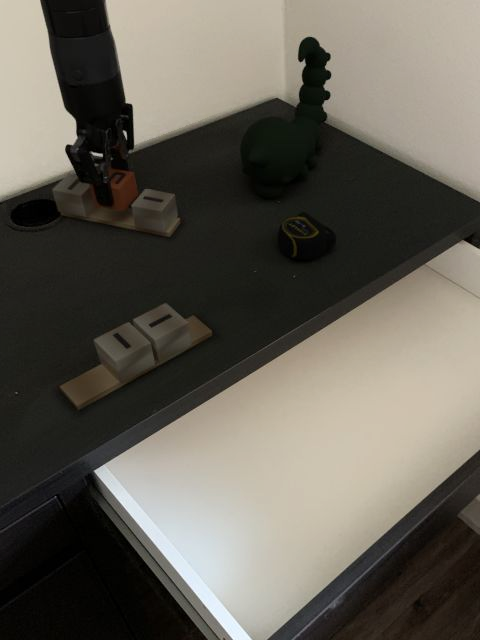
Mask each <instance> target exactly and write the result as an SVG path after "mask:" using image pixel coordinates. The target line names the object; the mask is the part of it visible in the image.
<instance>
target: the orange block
mask: <svg viewBox="0 0 480 640" xmlns="http://www.w3.org/2000/svg"><path fill="white" fill-rule="evenodd" d="M108 176H109V179H108V180H110V184H111V190H112V194H113V199H114V204H113V205H112V206H111V207H108V206H103V205H100V204H99V203H98V202H97V201H96V196H95V192H94V188H93V185H92V184H89V185H90V189H91V193H92V197H93V201H94V205H95V206H98V207H103V208H108V209H113V210H118V211H123V212H124V211H125V210H126V209H127V208H129V207H130V205H132V204H133V203H134V202H135V200H136V199H137V198H138V197H139V191H138V185H137V180H136V179H137V178H136V174H135V172H134V171H130V170H129V171H124V170H118V169H113V168H112V167H108Z"/></svg>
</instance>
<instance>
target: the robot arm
mask: <svg viewBox="0 0 480 640" xmlns="http://www.w3.org/2000/svg"><path fill="white" fill-rule="evenodd" d="M39 2H40V5H41V6H40V7H41V11H42V15H43V18H44V22H45V27H46V31H47V35H48V36H47V38H48V45H49V51H50V56H51V61H52V64H53V68H54V72H55V76H56V80H57V84H58V87H59V92H60V95H61V99H62V103H63V107H64V109H65V112H67V113H68V114H69V115H70V116H71V117H72V118H73V119H74V121H75V135H76V137H77V138H76V140H75V141H74V142H73V144H70V143H67V144H66V145H65V147H64V148H65V149H64V151H65V154H66V157H67V158H68V161H69V162H70V164H71V167H72V168H73V170H74V172H75V175H77V176H78V178H79V181H80V182H81V183H87V184H92V185H93V188H94V192H95V196H96V201H97V202H98V203H99V204H100V205H103V206H108V207H111V206H112V205H113V204H114V199H113V194H112V190H111V184H110V180H108V179H109V176H108V168H109V165H110V168H113V169H118V170H124V171H129V172H130V168H129V162H128V161H129V159H130V151H134V149H135V128H134V127H135V124H134V123H135V122H134V106H133V104H132V103H129V102H126V101H127V99H126V94H125V88H124V87H125V86H124V83H123V77H122V76H123V75H122V71H121V66H120V60H119V55H118V50H117V49H118V48H117V44H116V40H115V38H114V34H113V31H112V28H111V23H110V22H111V21H110V17H109V11H108V7H107V1H106V0H39ZM125 133H126V135H125ZM95 154H99V155H95ZM100 155H102V156H100ZM96 165H98V166H99V170H100V171H98V169H97V167H96Z"/></svg>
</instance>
